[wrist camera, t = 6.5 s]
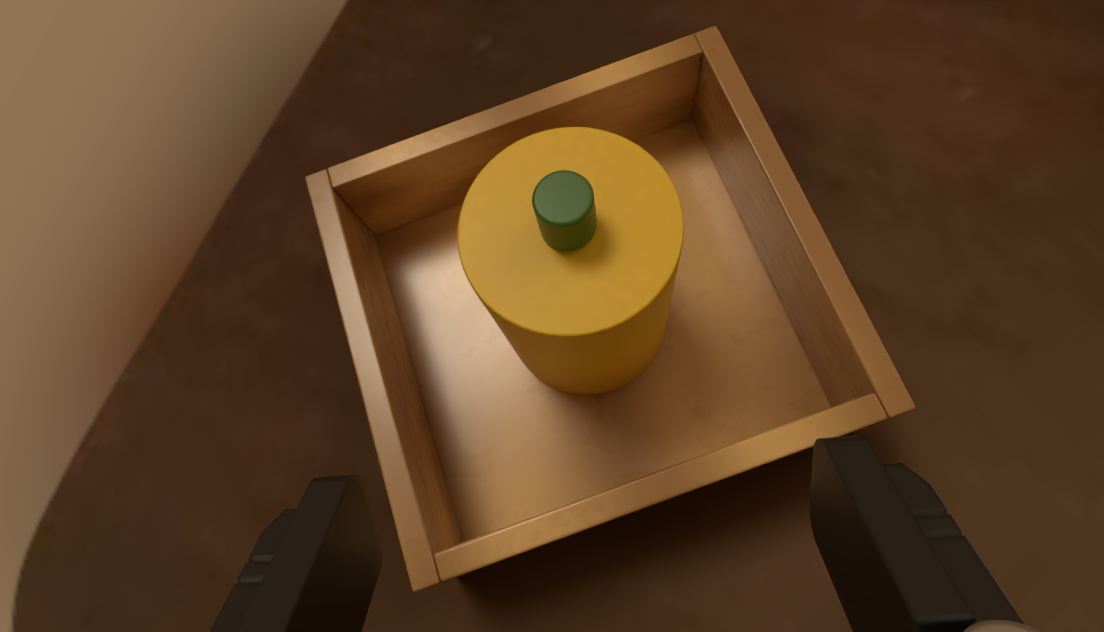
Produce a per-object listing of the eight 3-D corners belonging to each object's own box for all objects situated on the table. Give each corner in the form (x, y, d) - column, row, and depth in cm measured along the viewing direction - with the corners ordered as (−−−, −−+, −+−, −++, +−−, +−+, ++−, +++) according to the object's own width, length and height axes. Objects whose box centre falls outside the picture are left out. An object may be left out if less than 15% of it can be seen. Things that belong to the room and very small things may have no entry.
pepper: (538, 417, 23) (482, 354, 14) (490, 275, 25) (411, 137, 16) (690, 362, 23) (732, 263, 14) (632, 223, 25) (634, 55, 16)
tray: (455, 577, 23) (412, 592, 18) (358, 233, 27) (303, 176, 22) (859, 429, 23) (917, 408, 18) (701, 107, 27) (716, 24, 22)
